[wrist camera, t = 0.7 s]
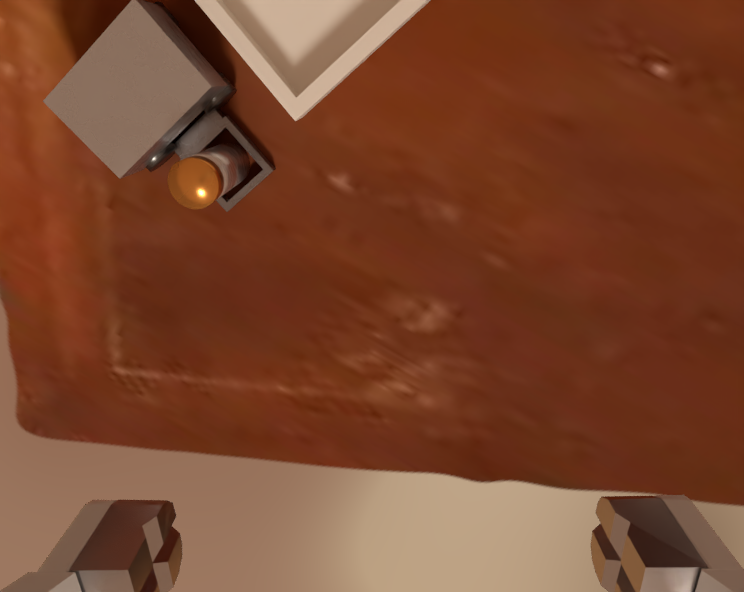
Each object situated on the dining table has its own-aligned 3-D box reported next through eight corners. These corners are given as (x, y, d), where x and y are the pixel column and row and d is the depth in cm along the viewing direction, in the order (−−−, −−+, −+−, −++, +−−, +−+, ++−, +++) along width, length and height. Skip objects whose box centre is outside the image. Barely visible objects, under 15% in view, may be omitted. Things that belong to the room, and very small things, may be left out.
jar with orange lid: (229, 133, 43) (191, 147, 35) (258, 166, 44) (228, 187, 36) (200, 160, 44) (157, 180, 36) (230, 192, 45) (194, 218, 37)
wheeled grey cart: (168, 4, 40) (129, -8, 34) (294, 151, 44) (279, 164, 38) (87, 93, 42) (38, 96, 36) (213, 224, 46) (187, 246, 40)
